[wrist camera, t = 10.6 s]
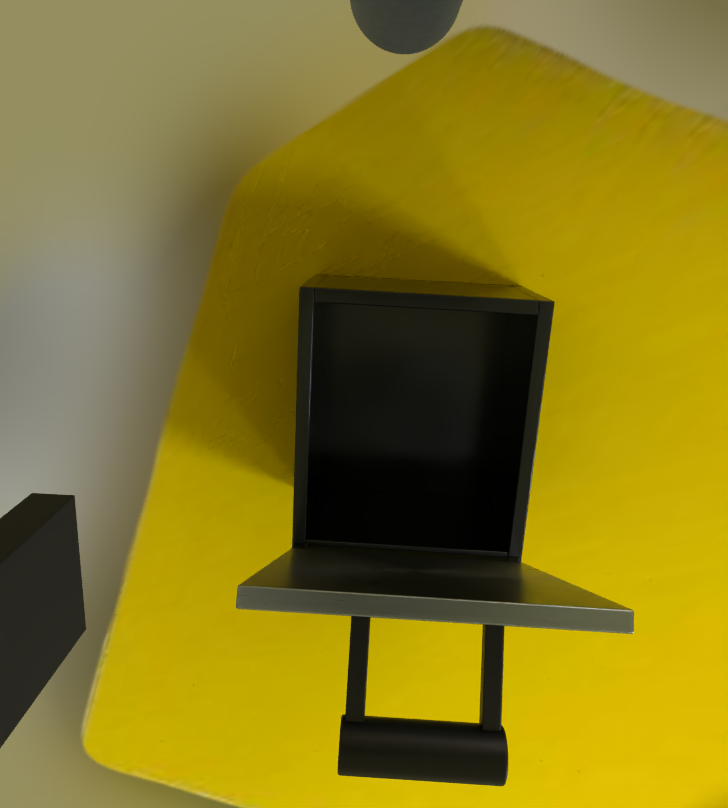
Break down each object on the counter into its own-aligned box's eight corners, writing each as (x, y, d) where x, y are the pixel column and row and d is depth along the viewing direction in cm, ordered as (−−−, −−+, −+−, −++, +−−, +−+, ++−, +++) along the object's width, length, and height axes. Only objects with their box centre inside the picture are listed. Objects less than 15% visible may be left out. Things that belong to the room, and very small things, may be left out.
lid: (237, 585, 23) (219, 796, 22) (634, 610, 23) (633, 824, 22) (291, 547, 39) (282, 668, 38) (522, 562, 39) (519, 683, 38)
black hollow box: (315, 274, 44) (299, 286, 36) (521, 285, 44) (554, 301, 36) (308, 493, 48) (291, 551, 40) (496, 504, 48) (520, 565, 40)
